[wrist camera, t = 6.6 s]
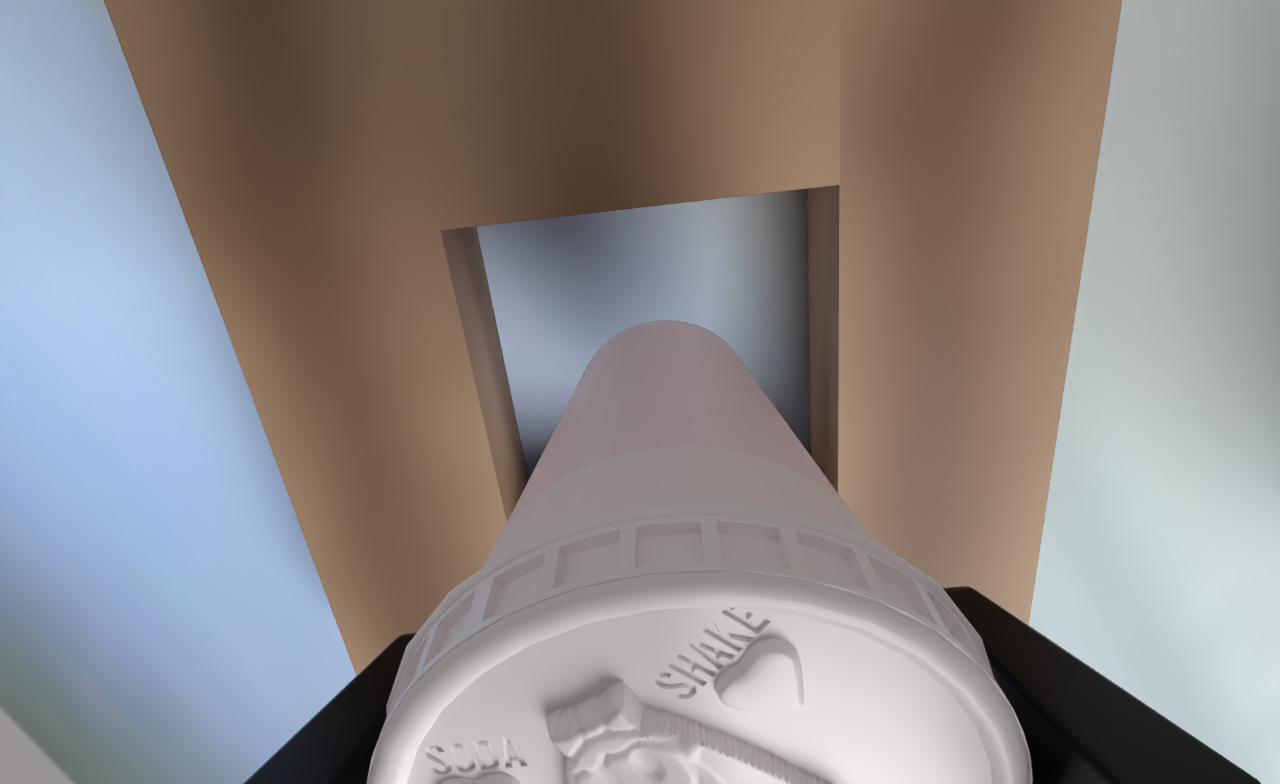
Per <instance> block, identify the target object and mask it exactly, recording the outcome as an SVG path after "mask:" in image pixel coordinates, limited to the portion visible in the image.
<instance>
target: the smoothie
mask: <svg viewBox="0 0 1280 784" xmlns="http://www.w3.org/2000/svg"><path fill="white" fill-rule="evenodd" d="M386 712H387V718H386V720H385V723H384V726H383V728H382V731H381V733H380V736H379V739H378V741H377V744H376V747H375V750H374V752H373V755H372V758H371V763H370V768H369V773H368V778H367V784H1032V782H1033V776H1032V767H1031V758H1030V753H1029V749H1028V745H1027V742H1026V738H1025V735H1024V732H1023V729H1022V727H1021V725H1020V723H1019V720H1018V718H1017V716H1016V714H1015V711H1014V709H1013V708H1012V706H1011V704H1010V702H1009V701H1008V699H1007V698H1006V696H1005V694H1004V693H1003V691H1002V690H1001V688H1000V686H999V685H998V683H997V682H996V680H995V679H994V676H993V673H992V670H991V666H990V663H989V660H988V657H987V654H986V650H985V647H984V644H983V641H982V638H981V637H980V635H979V634H978V633H977V631H976V630H975V629H974V628H973V626H972V625H971V624H970V623H969V621H968V620H967V619H966V617H965V616H964V615H963V614H962V612H961V611H960V610H959V609H958V607H957V606H956V605H955V603H954V602H953V601H952V600H951V598H950V597H949V596H948V595H947V593H946V592H945V591H944V589H943V588H942V587H941V586H940V584H939V583H938V582H937V581H935V580H934V579H932V578H931V577H929V576H928V575H926V574H925V573H923V572H922V571H920V570H919V569H917V568H916V567H914V566H913V565H911V564H910V563H908V562H907V561H905V560H904V559H902V558H901V557H899V556H898V555H896V554H895V553H893V552H892V551H890V550H889V549H887V548H886V547H884V546H883V545H881V544H880V543H878V542H877V541H875V540H874V539H872V538H871V537H870V536H869V534H868V533H867V531H866V530H865V528H864V527H863V525H862V524H861V523H860V522H859V520H858V519H857V518H856V517H855V516H854V514H853V513H852V512H851V511H850V509H849V508H848V507H847V505H846V504H845V503H844V501H843V500H842V498H841V497H840V496H839V494H838V493H837V492H836V490H835V489H834V487H833V486H832V485H831V483H830V482H829V481H828V479H827V478H826V476H825V475H824V474H823V472H822V471H821V470H820V468H819V467H818V466H817V464H816V463H815V461H814V460H813V459H812V457H811V456H810V455H809V453H808V452H807V450H806V449H805V448H804V446H803V445H802V444H801V442H800V441H799V439H798V438H797V437H796V435H795V434H794V433H793V431H792V430H791V428H790V427H789V426H788V424H787V423H786V422H785V420H784V419H783V417H782V416H781V415H780V413H779V412H778V411H777V409H776V408H775V406H774V405H773V404H772V402H771V401H770V400H769V398H768V397H767V395H766V394H765V393H764V391H763V390H762V389H761V387H760V386H759V384H758V383H757V382H756V380H755V379H754V378H753V376H752V375H751V373H750V372H749V371H748V369H747V368H746V367H745V365H744V364H743V362H742V361H741V360H740V358H739V357H738V356H737V354H736V353H735V352H734V351H733V349H732V348H731V347H730V346H729V345H728V344H727V343H726V342H725V341H724V340H722V339H721V338H720V337H719V336H717V335H715V334H714V333H712V332H711V331H709V330H707V329H705V328H702V327H700V326H697V325H694V324H691V323H687V322H682V321H673V320H659V321H651V322H646V323H642V324H638V325H635V326H633V327H630V328H628V329H626V330H624V331H622V332H620V333H618V334H617V335H615V336H614V337H612V338H611V339H610V340H608V341H607V342H606V343H605V344H604V345H603V346H602V347H601V348H600V349H599V350H598V351H597V352H596V354H595V355H594V356H593V358H592V359H591V361H590V363H589V364H588V366H587V368H586V370H585V372H584V374H583V376H582V378H581V380H580V382H579V384H578V386H577V388H576V390H575V392H574V393H573V395H572V397H571V399H570V401H569V403H568V405H567V407H566V409H565V411H564V413H563V415H562V417H561V419H560V421H559V423H558V425H557V426H556V428H555V430H554V432H553V434H552V436H551V438H550V440H549V442H548V444H547V446H546V448H545V450H544V452H543V454H542V456H541V458H540V459H539V461H538V463H537V465H536V467H535V469H534V471H533V473H532V475H531V477H530V479H529V481H528V483H527V485H526V487H525V489H524V491H523V492H522V494H521V496H520V498H519V500H518V502H517V504H516V506H515V508H514V510H513V512H512V514H511V516H510V518H509V520H508V522H507V524H506V525H505V527H504V529H503V531H502V533H501V535H500V537H499V538H498V539H497V541H496V543H495V545H494V547H493V549H492V550H491V552H490V554H489V556H488V558H487V560H486V562H485V564H484V566H483V568H482V569H481V570H479V571H478V572H476V573H475V574H473V575H472V576H470V577H469V578H468V579H466V580H465V581H463V582H462V583H460V584H459V585H457V586H456V587H455V588H453V589H452V590H450V592H449V593H448V594H447V595H446V597H445V598H444V599H443V601H442V602H441V603H440V604H439V606H438V607H437V608H436V609H435V611H434V612H433V613H432V614H431V616H430V617H429V618H428V620H427V621H426V622H425V623H424V625H423V626H422V627H421V628H420V630H419V631H418V632H417V633H416V635H415V636H414V637H413V639H412V640H411V641H410V642H409V644H408V645H407V646H406V649H405V652H404V655H403V658H402V661H401V664H400V667H399V670H398V673H397V676H396V679H395V682H394V685H393V688H392V691H391V694H390V697H389V700H388V703H387V706H386Z"/></svg>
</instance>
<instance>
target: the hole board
mask: <svg viewBox="0 0 1280 784" xmlns="http://www.w3.org/2000/svg"><path fill="white" fill-rule="evenodd" d="M104 2H105V5H106V7H107V10H108V13H109V15H110V18H111V21H112V23H113V26H114V29H115V31H116V34H117V37H118V39H119V42H120V45H121V47H122V50H123V53H124V55H125V58H126V61H127V63H128V66H129V69H130V71H131V74H132V77H133V79H134V82H135V85H136V88H137V90H138V93H139V96H140V98H141V101H142V104H143V106H144V109H145V112H146V114H147V117H148V120H149V122H150V125H151V128H152V130H153V133H154V136H155V138H156V141H157V144H158V146H159V149H160V152H161V154H162V157H163V160H164V162H165V165H166V168H167V170H168V173H169V176H170V178H171V181H172V184H173V186H174V189H175V192H176V194H177V197H178V200H179V202H180V205H181V208H182V211H183V213H184V216H185V219H186V221H187V224H188V227H189V229H190V232H191V235H192V237H193V240H194V243H195V245H196V248H197V251H198V253H199V256H200V259H201V261H202V264H203V267H204V269H205V272H206V275H207V277H208V280H209V283H210V285H211V288H212V291H213V293H214V296H215V299H216V301H217V304H218V307H219V309H220V312H221V315H222V317H223V320H224V323H225V325H226V328H227V331H228V333H229V336H230V339H231V342H232V344H233V347H234V350H235V352H236V355H237V358H238V360H239V363H240V366H241V368H242V371H243V374H244V376H245V379H246V382H247V384H248V387H249V390H250V392H251V395H252V398H253V400H254V403H255V406H256V408H257V411H258V414H259V416H260V419H261V422H262V424H263V427H264V430H265V432H266V435H267V438H268V440H269V443H270V446H271V448H272V451H273V454H274V456H275V459H276V462H277V464H278V467H279V470H280V473H281V475H282V478H283V481H284V483H285V486H286V489H287V491H288V494H289V497H290V499H291V502H292V505H293V507H294V510H295V513H296V515H297V518H298V521H299V523H300V526H301V529H302V531H303V534H304V537H305V539H306V542H307V545H308V547H309V550H310V553H311V555H312V558H313V561H314V563H315V566H316V569H317V571H318V574H319V577H320V579H321V582H322V585H323V587H324V590H325V593H326V596H327V598H328V601H329V604H330V606H331V609H332V612H333V614H334V617H335V620H336V622H337V625H338V628H339V630H340V633H341V636H342V638H343V641H344V644H345V646H346V649H347V652H348V654H349V657H350V660H351V662H352V665H353V668H354V670H355V673H356V676H357V675H358V674H359V673H360V672H361V671H362V670H363V669H364V668H366V667H367V666H368V665H369V664H370V663H371V662H372V661H373V660H374V659H375V658H376V657H377V656H378V655H379V654H380V653H381V652H382V651H383V650H384V649H385V648H387V647H388V646H389V645H390V644H391V643H392V642H393V641H394V640H395V639H396V638H397V637H399V636H400V635H403V634H407V633H417V632H418V631H419V630H420V628H421V627H422V626H423V625H424V623H425V622H426V621H427V620H428V618H429V617H430V616H431V614H432V613H433V612H434V611H435V609H436V608H437V607H438V606H439V604H440V603H441V602H442V601H443V599H444V598H445V597H446V595H447V594H448V593H449V592H450V590H452V589H453V588H455V587H456V586H457V585H459V584H460V583H462V582H463V581H465V580H466V579H468V578H469V577H470V576H472V575H473V574H475V573H476V572H478V571H479V570H481V569H482V568H483V566H484V564H485V562H486V560H487V558H488V556H489V554H490V552H491V550H492V549H493V547H494V545H495V543H496V541H497V539H498V538H499V537H500V535H501V533H502V531H503V529H504V527H505V525H506V524H507V522H508V520H509V518H510V516H511V514H512V512H513V510H514V508H515V506H516V504H517V502H518V500H519V498H520V496H521V494H522V492H523V491H524V489H525V487H526V485H527V483H528V481H529V480H528V475H527V471H526V466H525V461H524V456H523V451H522V446H521V442H520V437H519V432H518V427H517V422H516V417H515V412H514V408H513V403H512V398H511V393H510V388H509V383H508V379H507V374H506V369H505V364H504V359H503V354H502V350H501V345H500V340H499V335H498V330H497V325H496V320H495V316H494V311H493V306H492V301H491V296H490V291H489V287H488V282H487V277H486V272H485V267H484V262H483V258H482V253H481V248H480V243H479V238H478V233H477V228H476V226H483V225H492V224H500V223H509V222H518V221H527V220H535V219H544V218H553V217H562V216H570V215H579V214H588V213H597V212H606V211H614V210H623V209H632V208H641V207H649V206H658V205H667V204H676V203H684V202H693V201H702V200H711V199H719V198H728V197H737V196H746V195H755V194H763V193H772V192H781V191H790V190H798V189H807V217H808V291H809V365H810V439H811V457H812V459H813V460H814V461H815V463H816V464H817V466H818V467H819V468H820V470H821V471H822V472H823V474H824V475H825V476H826V478H827V479H828V481H829V482H830V483H831V485H832V486H833V487H834V489H835V490H836V492H837V493H838V494H839V496H840V497H841V498H842V500H843V501H844V503H845V504H846V505H847V507H848V508H849V509H850V511H851V512H852V513H853V514H854V516H855V517H856V518H857V519H858V520H859V522H860V523H861V524H862V525H863V527H864V528H865V530H866V531H867V533H868V534H869V536H870V537H871V538H872V539H874V540H875V541H877V542H878V543H880V544H881V545H883V546H884V547H886V548H887V549H889V550H890V551H892V552H893V553H895V554H896V555H898V556H899V557H901V558H902V559H904V560H905V561H907V562H908V563H910V564H911V565H913V566H914V567H916V568H917V569H919V570H920V571H922V572H923V573H925V574H926V575H928V576H929V577H931V578H932V579H934V580H935V581H937V582H938V583H939V584H940V586H941V587H942V588H948V587H960V586H968V587H971V588H973V589H975V590H977V591H978V592H980V593H981V594H983V595H984V596H986V597H987V598H989V599H990V600H992V601H993V602H995V603H996V604H998V605H999V606H1001V607H1002V608H1004V609H1005V610H1007V611H1008V612H1009V613H1011V614H1012V615H1014V616H1015V617H1017V618H1018V619H1020V620H1021V621H1023V622H1024V623H1026V624H1027V625H1028V624H1029V618H1030V611H1031V604H1032V598H1033V591H1034V584H1035V578H1036V571H1037V564H1038V558H1039V551H1040V544H1041V538H1042V531H1043V524H1044V518H1045V511H1046V504H1047V498H1048V491H1049V484H1050V478H1051V471H1052V464H1053V458H1054V451H1055V444H1056V438H1057V431H1058V424H1059V418H1060V411H1061V404H1062V398H1063V391H1064V384H1065V378H1066V371H1067V364H1068V358H1069V351H1070V344H1071V338H1072V331H1073V324H1074V317H1075V311H1076V304H1077V297H1078V291H1079V284H1080V277H1081V271H1082V264H1083V257H1084V251H1085V244H1086V237H1087V231H1088V224H1089V217H1090V211H1091V204H1092V197H1093V191H1094V184H1095V177H1096V171H1097V164H1098V157H1099V151H1100V144H1101V137H1102V131H1103V124H1104V117H1105V111H1106V104H1107V97H1108V91H1109V84H1110V77H1111V71H1112V64H1113V57H1114V51H1115V44H1116V37H1117V31H1118V24H1119V17H1120V11H1121V4H1122V0H104Z"/></svg>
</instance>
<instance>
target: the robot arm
mask: <svg viewBox="0 0 1280 784" xmlns="http://www.w3.org/2000/svg"><path fill="white" fill-rule="evenodd" d="M943 589H944V591H945V592H946V593H947V595H948V596H949V597H950V598H951V600H952V601H953V602H954V603H955V605H956V606H957V607H958V609H959V610H960V611H961V612H962V614H963V615H964V616H965V617H966V619H967V620H968V621H969V623H970V624H971V625H972V626H973V628H974V629H975V630H976V631H977V633H978V634H979V635H980V637H981V638H982V641H983V644H984V647H985V650H986V654H987V657H988V660H989V663H990V666H991V670H992V673H993V676H994V679H995V680H996V682H997V683H998V685H999V686H1000V688H1001V690H1002V691H1003V693H1004V694H1005V696H1006V698H1007V699H1008V701H1009V702H1010V704H1011V706H1012V708H1013V709H1014V711H1015V714H1016V716H1017V718H1018V720H1019V723H1020V725H1021V727H1022V729H1023V732H1024V735H1025V738H1026V742H1027V745H1028V749H1029V753H1030V758H1031V767H1032V776H1033V782H1032V784H1261V783H1260V781H1259V780H1257V779H1256V778H1254V777H1253V776H1251V775H1250V774H1248V773H1247V772H1245V771H1244V770H1242V769H1241V768H1239V767H1238V766H1236V765H1235V764H1233V763H1232V762H1230V761H1229V760H1227V759H1226V758H1225V757H1223V756H1222V755H1220V754H1219V753H1217V752H1216V751H1214V750H1213V749H1211V748H1210V747H1208V746H1207V745H1205V744H1204V743H1202V742H1201V741H1199V740H1198V739H1196V738H1195V737H1193V736H1192V735H1190V734H1189V733H1187V732H1186V731H1184V730H1183V729H1182V728H1180V727H1179V726H1177V725H1176V724H1174V723H1173V722H1171V721H1170V720H1168V719H1167V718H1165V717H1164V716H1162V715H1161V714H1159V713H1158V712H1156V711H1155V710H1153V709H1152V708H1150V707H1149V706H1147V705H1146V704H1144V703H1143V702H1141V701H1140V700H1139V699H1137V698H1136V697H1134V696H1133V695H1131V694H1130V693H1128V692H1127V691H1125V690H1124V689H1122V688H1121V687H1119V686H1118V685H1116V684H1115V683H1113V682H1112V681H1110V680H1109V679H1107V678H1106V677H1104V676H1103V675H1101V674H1100V673H1098V672H1097V671H1096V670H1094V669H1093V668H1091V667H1090V666H1088V665H1087V664H1085V663H1084V662H1082V661H1081V660H1079V659H1078V658H1076V657H1075V656H1073V655H1072V654H1070V653H1069V652H1067V651H1066V650H1064V649H1063V648H1061V647H1060V646H1058V645H1057V644H1055V643H1054V642H1052V641H1051V640H1050V639H1048V638H1047V637H1045V636H1044V635H1042V634H1041V633H1039V632H1038V631H1036V630H1035V629H1033V628H1032V627H1030V626H1029V625H1027V624H1026V623H1024V622H1023V621H1021V620H1020V619H1018V618H1017V617H1015V616H1014V615H1012V614H1011V613H1009V612H1008V611H1007V610H1005V609H1004V608H1002V607H1001V606H999V605H998V604H996V603H995V602H993V601H992V600H990V599H989V598H987V597H986V596H984V595H983V594H981V593H980V592H978V591H977V590H975V589H973V588H971V587H968V586H960V587H948V588H943ZM415 635H416V633H407V634H403V635H400V636H399V637H397V638H396V639H395V640H394V641H393V642H392V643H391V644H390V645H389V646H388V647H387V648H385V649H384V650H383V651H382V652H381V653H380V654H379V655H378V656H377V657H376V658H375V659H374V660H373V661H372V662H371V663H370V664H369V665H368V666H367V667H366V668H364V669H363V670H362V671H361V672H360V673H359V674H358V675H357V676H356V677H355V678H354V679H353V680H352V681H351V682H350V683H349V684H348V685H347V686H346V687H345V688H343V689H342V690H341V691H340V692H339V693H338V694H337V695H336V696H335V697H334V698H333V699H332V700H331V701H330V702H329V703H328V704H327V705H326V706H325V707H324V708H322V709H321V710H320V711H319V712H318V713H317V714H316V715H315V716H314V717H313V718H312V719H311V720H310V721H309V722H308V723H307V724H306V725H305V726H304V727H302V728H301V729H300V730H299V731H298V732H297V733H296V734H295V735H294V736H293V737H292V738H291V739H290V740H289V741H288V742H287V743H286V744H285V745H284V746H283V747H281V748H280V749H279V750H278V751H277V752H276V753H275V754H274V755H273V756H272V757H271V758H270V759H269V760H268V761H267V762H266V763H265V764H264V765H263V766H262V767H260V768H259V769H258V770H257V771H256V772H255V773H254V774H253V775H252V776H251V777H250V778H249V779H248V780H247V781H246V782H245V783H244V784H367V778H368V773H369V768H370V763H371V758H372V755H373V752H374V750H375V747H376V744H377V741H378V739H379V736H380V733H381V731H382V728H383V726H384V723H385V720H386V718H387V712H386V706H387V703H388V700H389V697H390V694H391V691H392V688H393V685H394V682H395V679H396V676H397V673H398V670H399V667H400V664H401V661H402V658H403V655H404V652H405V649H406V646H407V645H408V644H409V642H410V641H411V640H412V639H413V637H414V636H415Z"/></svg>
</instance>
